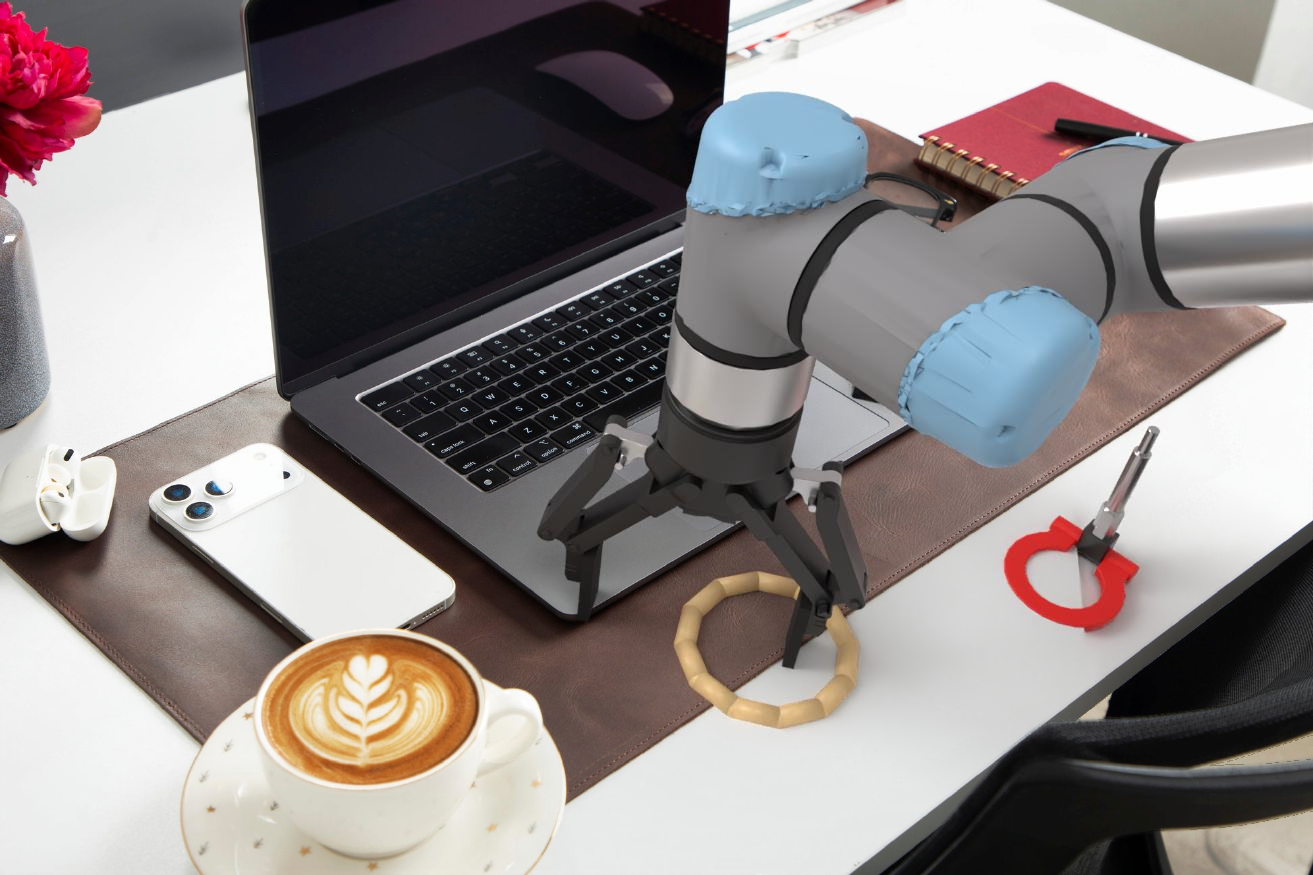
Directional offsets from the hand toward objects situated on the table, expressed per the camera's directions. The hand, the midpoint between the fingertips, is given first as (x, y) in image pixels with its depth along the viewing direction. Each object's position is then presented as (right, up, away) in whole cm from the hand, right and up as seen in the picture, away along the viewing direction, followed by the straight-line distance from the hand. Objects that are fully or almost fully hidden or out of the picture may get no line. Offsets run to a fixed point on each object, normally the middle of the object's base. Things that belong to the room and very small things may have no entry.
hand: (687, 632), depth 75 cm
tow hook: (+27, +2, +7) cm, 28 cm away
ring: (+5, -1, -1) cm, 5 cm away
